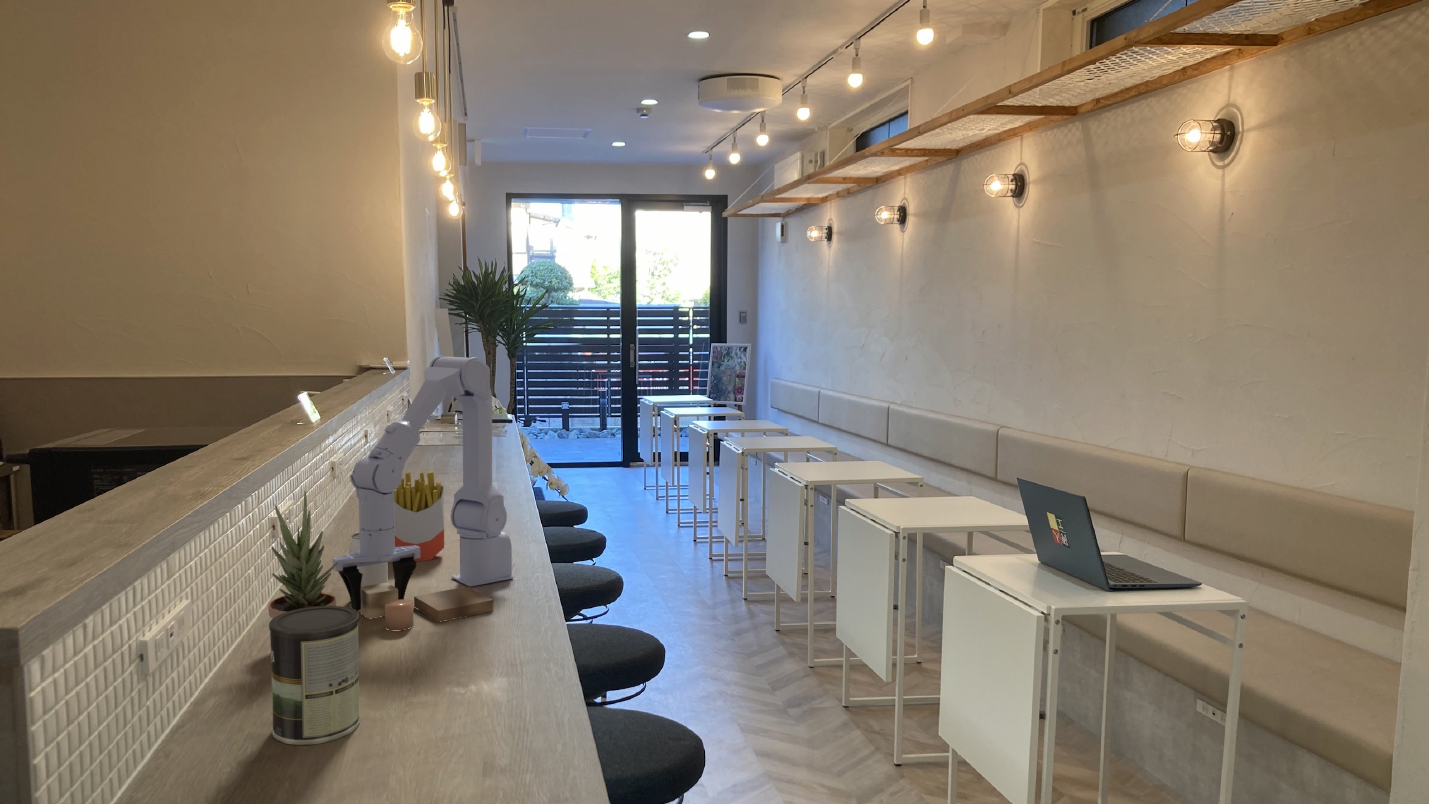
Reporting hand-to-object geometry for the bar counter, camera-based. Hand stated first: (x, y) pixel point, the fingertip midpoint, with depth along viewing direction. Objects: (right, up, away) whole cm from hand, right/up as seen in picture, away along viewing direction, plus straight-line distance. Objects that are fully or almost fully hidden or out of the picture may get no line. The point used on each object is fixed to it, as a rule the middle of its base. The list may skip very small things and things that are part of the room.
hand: (378, 604), depth 163 cm
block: (0, -2, 0) cm, 2 cm away
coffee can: (+8, -6, -44) cm, 45 cm away
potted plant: (-5, -3, -16) cm, 18 cm away
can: (-4, -1, +7) cm, 8 cm away
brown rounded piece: (+6, -2, -7) cm, 9 cm away
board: (+12, -1, +3) cm, 13 cm away
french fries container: (-5, +2, +36) cm, 36 cm away
